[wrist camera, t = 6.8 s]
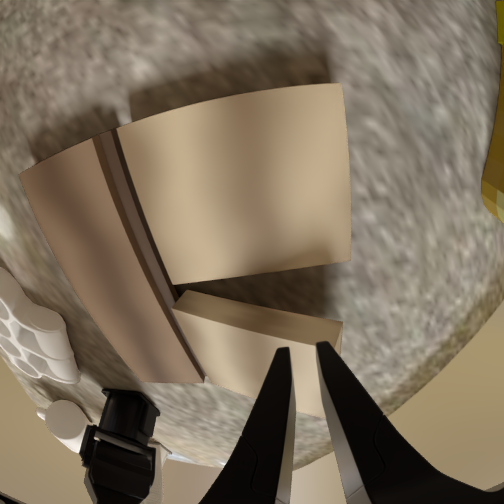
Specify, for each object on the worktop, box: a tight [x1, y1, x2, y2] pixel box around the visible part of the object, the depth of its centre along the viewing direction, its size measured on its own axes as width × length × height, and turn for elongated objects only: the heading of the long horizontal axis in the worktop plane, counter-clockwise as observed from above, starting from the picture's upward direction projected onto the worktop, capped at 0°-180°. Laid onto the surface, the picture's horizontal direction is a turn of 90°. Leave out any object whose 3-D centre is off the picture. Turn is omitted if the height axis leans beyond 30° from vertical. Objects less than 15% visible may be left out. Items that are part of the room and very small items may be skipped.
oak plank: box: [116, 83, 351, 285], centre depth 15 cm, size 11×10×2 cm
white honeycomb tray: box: [0, 267, 81, 384], centre depth 24 cm, size 3×18×15 cm
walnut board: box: [19, 128, 207, 383], centre depth 19 cm, size 8×22×2 cm, turn 10°
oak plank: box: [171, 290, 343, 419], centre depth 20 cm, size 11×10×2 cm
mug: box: [36, 400, 98, 453], centre depth 36 cm, size 12×10×8 cm
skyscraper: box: [140, 441, 172, 504], centre depth 33 cm, size 8×8×28 cm
